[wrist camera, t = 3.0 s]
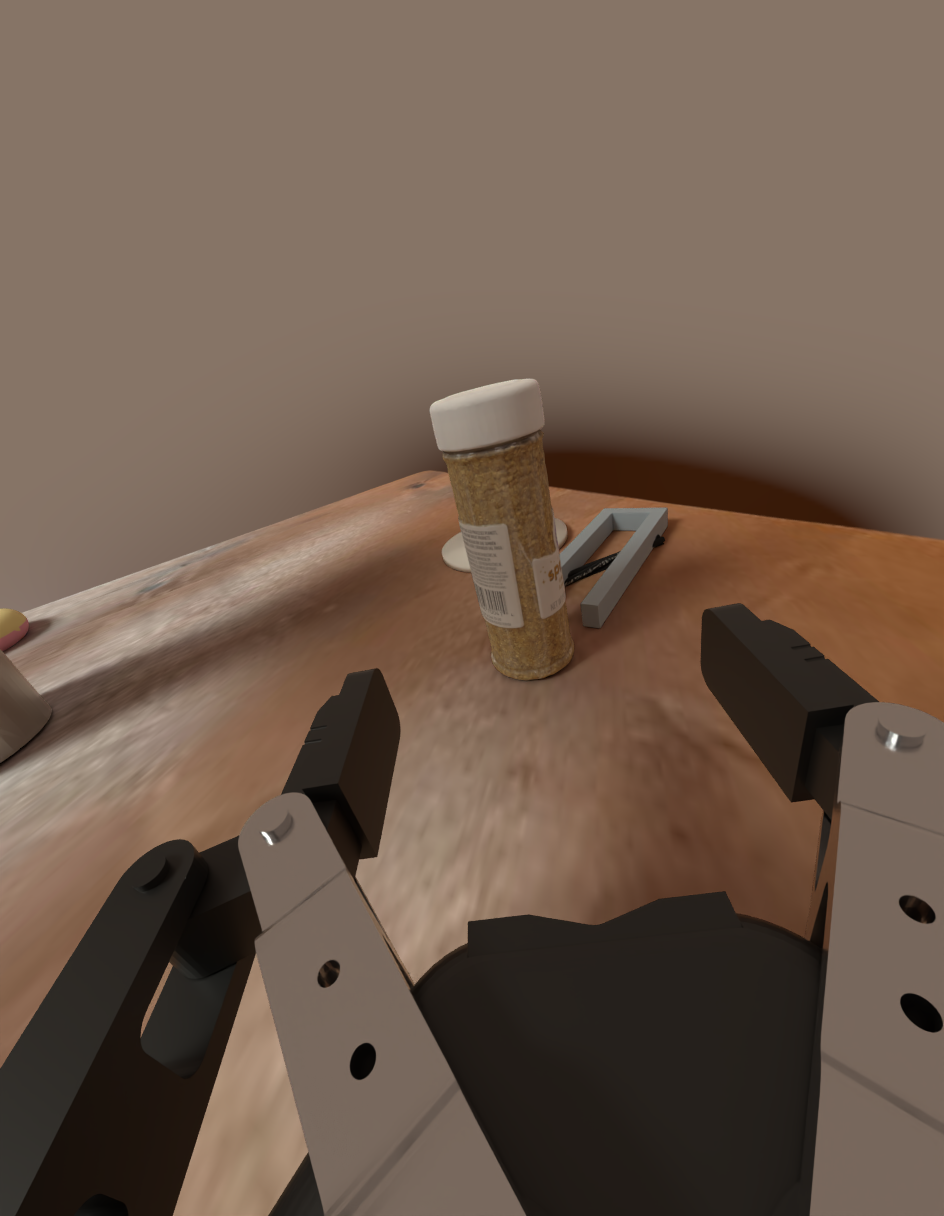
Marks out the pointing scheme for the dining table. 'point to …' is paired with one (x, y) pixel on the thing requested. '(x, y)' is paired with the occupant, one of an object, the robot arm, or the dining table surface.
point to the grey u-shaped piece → (624, 564)
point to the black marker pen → (600, 565)
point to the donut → (12, 627)
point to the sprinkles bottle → (507, 522)
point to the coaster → (457, 554)
